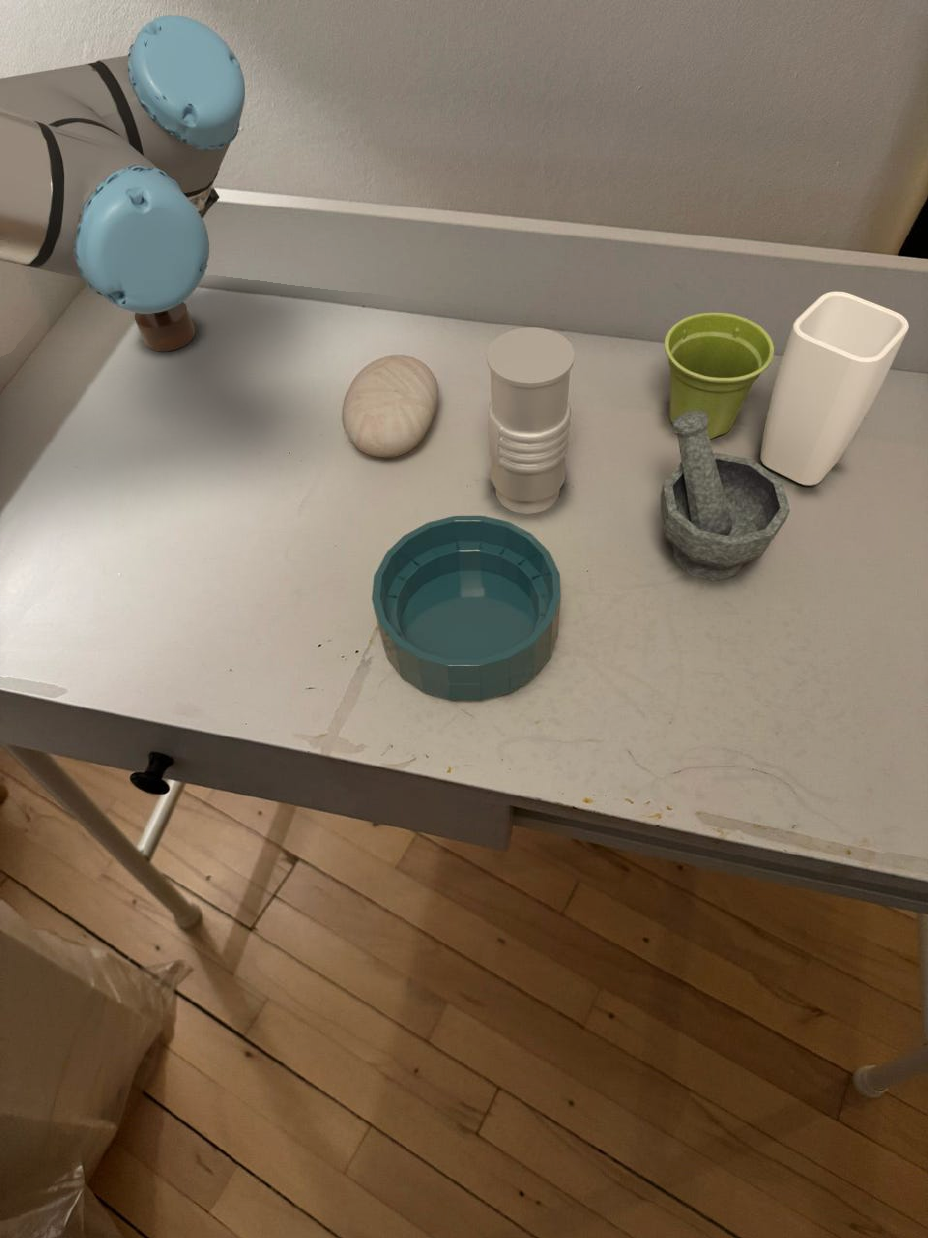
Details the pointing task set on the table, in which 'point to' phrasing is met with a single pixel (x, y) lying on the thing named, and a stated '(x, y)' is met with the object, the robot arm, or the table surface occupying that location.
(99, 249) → the robot arm
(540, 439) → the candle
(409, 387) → the decorative stone
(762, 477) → the mortar and pestle
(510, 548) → the bowl
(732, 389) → the plant pot
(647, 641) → the table surface
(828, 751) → the table surface
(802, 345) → the cup
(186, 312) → the wooden peg stand
